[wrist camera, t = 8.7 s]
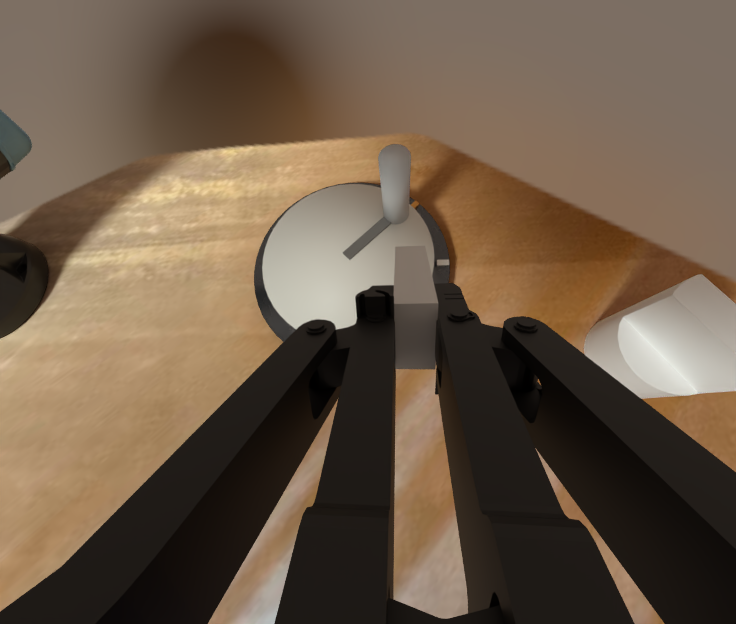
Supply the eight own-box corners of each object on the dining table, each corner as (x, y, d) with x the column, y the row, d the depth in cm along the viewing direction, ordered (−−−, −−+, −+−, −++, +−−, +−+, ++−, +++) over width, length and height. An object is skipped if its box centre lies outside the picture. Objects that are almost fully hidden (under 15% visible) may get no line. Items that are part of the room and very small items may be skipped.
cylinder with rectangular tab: (565, 344, 37) (639, 313, 25) (627, 300, 37) (727, 250, 26) (629, 416, 34) (744, 417, 23) (695, 366, 35) (838, 343, 23)
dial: (341, 383, 36) (317, 371, 26) (237, 265, 42) (182, 215, 31) (468, 263, 39) (493, 207, 28) (354, 167, 44) (340, 91, 34)
